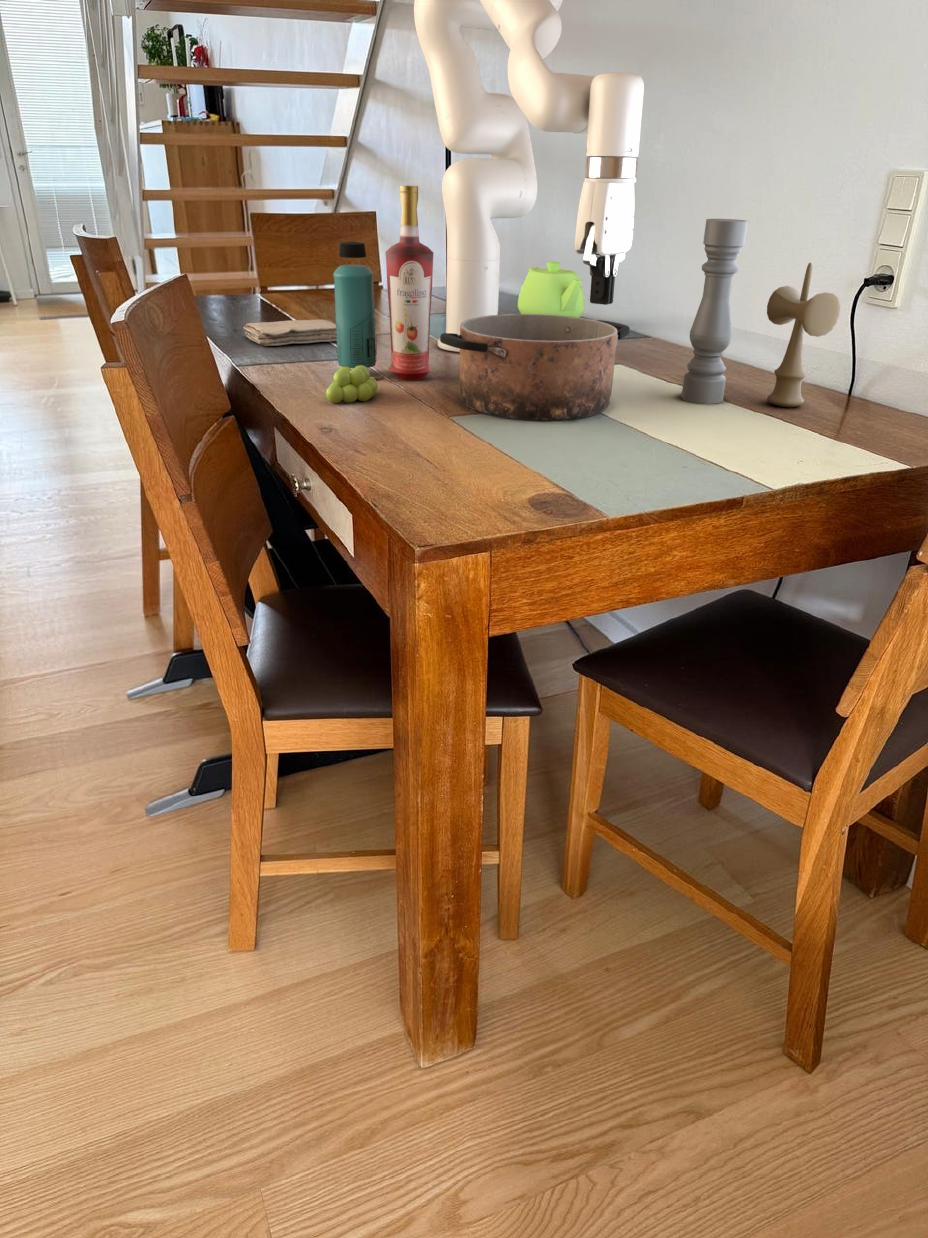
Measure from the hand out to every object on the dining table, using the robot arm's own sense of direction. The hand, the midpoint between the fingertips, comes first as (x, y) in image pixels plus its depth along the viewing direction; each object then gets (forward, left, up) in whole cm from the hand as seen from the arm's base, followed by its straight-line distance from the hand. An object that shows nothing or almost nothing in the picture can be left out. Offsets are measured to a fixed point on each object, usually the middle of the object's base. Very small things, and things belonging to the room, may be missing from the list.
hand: (601, 303), depth 142 cm
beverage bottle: (+21, -32, -13) cm, 40 cm away
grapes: (+33, -21, -12) cm, 41 cm away
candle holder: (-2, +18, -13) cm, 22 cm away
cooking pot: (+17, 0, -13) cm, 21 cm away
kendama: (-7, +29, -13) cm, 32 cm away
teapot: (-42, -35, -13) cm, 56 cm away
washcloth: (+7, -61, -13) cm, 63 cm away
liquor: (+17, -24, -13) cm, 32 cm away
